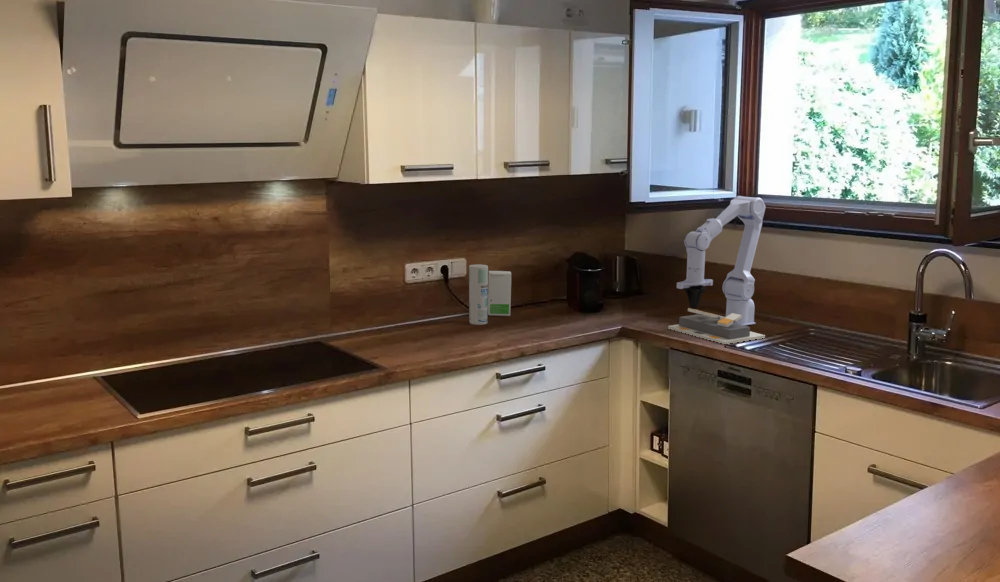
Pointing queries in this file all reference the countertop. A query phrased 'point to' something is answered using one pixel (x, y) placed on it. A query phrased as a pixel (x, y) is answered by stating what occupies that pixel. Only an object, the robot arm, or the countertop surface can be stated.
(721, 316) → the rocker
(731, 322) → the block
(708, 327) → the switch unit
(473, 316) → the spray can
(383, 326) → the countertop surface
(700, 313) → the rocker
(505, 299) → the skincare box
